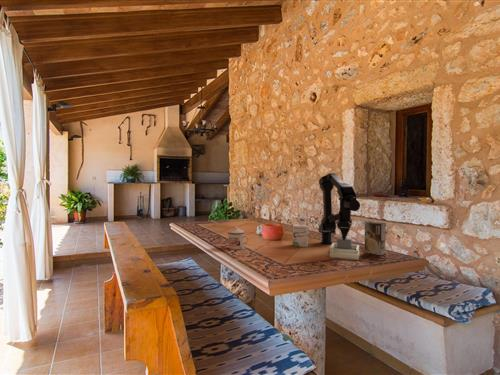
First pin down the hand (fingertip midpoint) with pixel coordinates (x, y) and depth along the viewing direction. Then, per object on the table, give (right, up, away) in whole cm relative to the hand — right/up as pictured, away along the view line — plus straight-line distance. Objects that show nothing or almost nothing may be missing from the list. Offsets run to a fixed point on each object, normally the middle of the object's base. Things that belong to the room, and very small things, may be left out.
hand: (344, 238), depth 169 cm
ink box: (-21, -7, +15) cm, 27 cm away
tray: (-3, -7, -10) cm, 12 cm away
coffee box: (+15, -8, -2) cm, 17 cm away
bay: (+1, -7, +3) cm, 8 cm away
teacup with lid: (-56, -7, +7) cm, 57 cm away
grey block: (0, -7, 0) cm, 7 cm away
